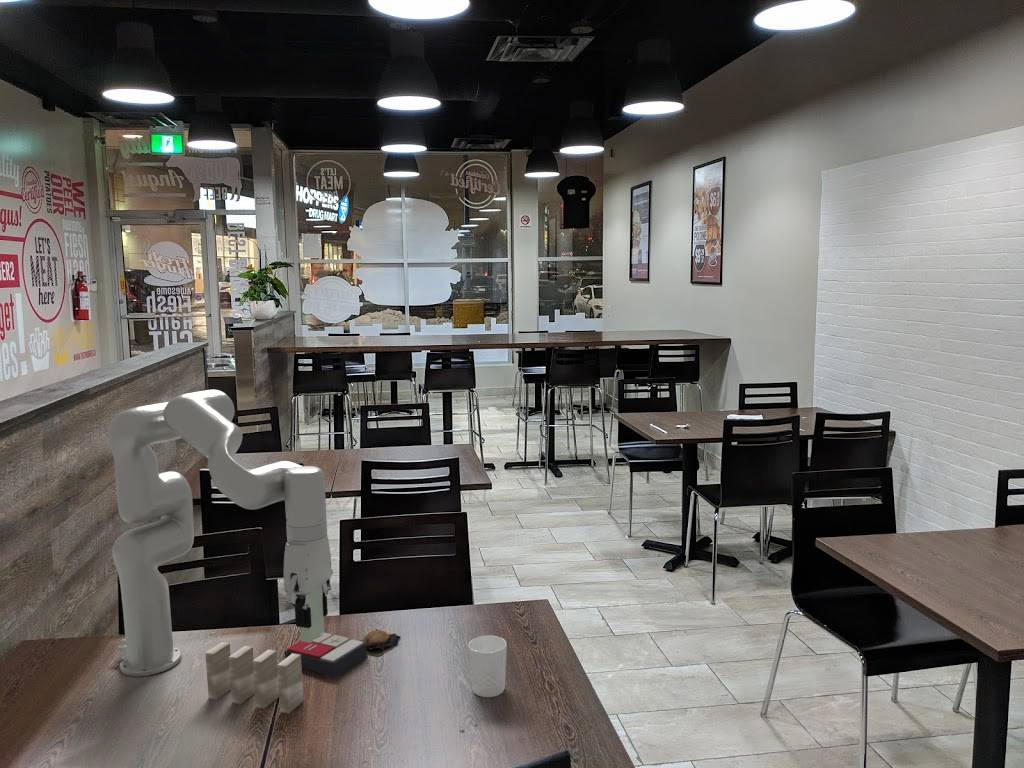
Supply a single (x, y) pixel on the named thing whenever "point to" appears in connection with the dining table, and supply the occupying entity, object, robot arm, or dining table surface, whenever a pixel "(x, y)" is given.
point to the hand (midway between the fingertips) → (312, 619)
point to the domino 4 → (290, 683)
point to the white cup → (488, 665)
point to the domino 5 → (314, 616)
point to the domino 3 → (266, 679)
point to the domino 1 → (218, 670)
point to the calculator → (329, 654)
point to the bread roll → (379, 642)
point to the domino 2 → (242, 674)
